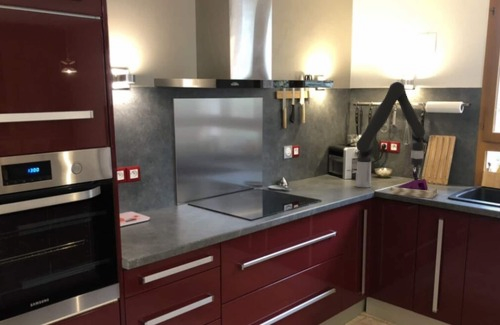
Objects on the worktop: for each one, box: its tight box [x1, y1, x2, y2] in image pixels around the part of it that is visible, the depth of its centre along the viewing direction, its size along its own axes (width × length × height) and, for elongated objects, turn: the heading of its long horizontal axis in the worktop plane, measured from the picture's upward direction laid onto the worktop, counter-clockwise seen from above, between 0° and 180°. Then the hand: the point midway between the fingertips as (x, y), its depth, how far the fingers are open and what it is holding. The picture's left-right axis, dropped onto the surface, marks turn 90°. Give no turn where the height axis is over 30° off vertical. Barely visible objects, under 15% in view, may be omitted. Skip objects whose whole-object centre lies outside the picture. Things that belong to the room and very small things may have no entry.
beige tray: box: [390, 186, 438, 199], centre depth 281 cm, size 25×14×4 cm, turn 59°
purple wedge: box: [397, 178, 429, 191], centre depth 286 cm, size 10×8×18 cm
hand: (416, 183), depth 293 cm, fingers closed
